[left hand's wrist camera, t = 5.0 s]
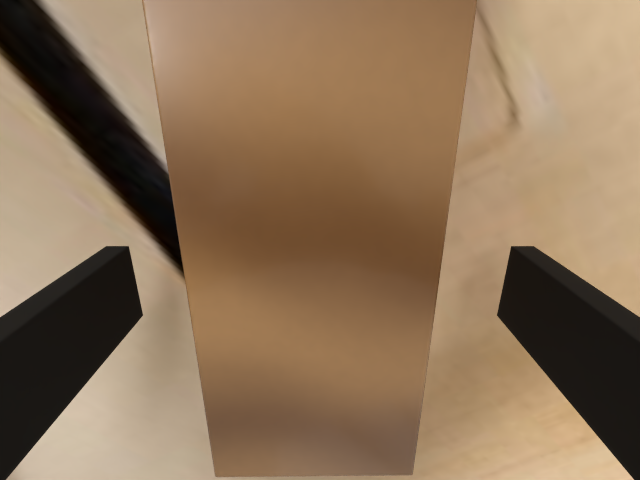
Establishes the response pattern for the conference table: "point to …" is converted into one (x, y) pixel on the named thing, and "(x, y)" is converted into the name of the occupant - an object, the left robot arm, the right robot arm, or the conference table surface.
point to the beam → (311, 217)
